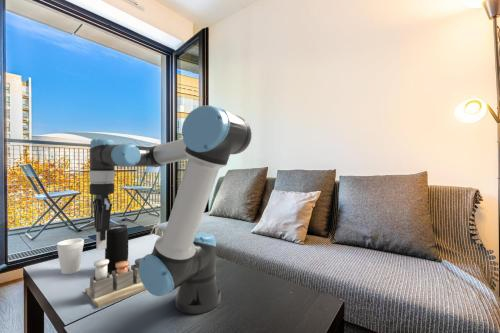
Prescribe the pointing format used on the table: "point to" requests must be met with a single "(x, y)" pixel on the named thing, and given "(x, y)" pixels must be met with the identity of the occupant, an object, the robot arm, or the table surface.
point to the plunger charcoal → (137, 262)
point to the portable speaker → (116, 246)
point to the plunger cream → (101, 269)
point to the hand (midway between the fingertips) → (101, 248)
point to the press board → (115, 287)
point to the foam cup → (70, 255)
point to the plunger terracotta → (122, 267)
